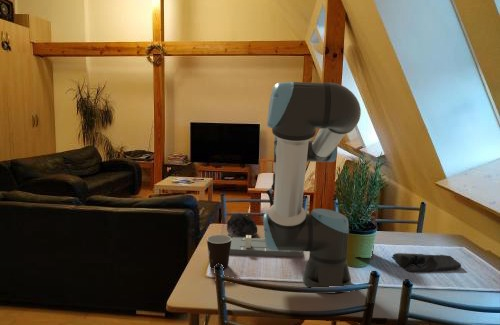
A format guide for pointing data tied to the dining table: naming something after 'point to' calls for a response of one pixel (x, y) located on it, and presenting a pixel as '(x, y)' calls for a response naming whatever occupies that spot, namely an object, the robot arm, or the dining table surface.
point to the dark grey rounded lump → (241, 226)
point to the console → (258, 248)
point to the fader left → (248, 241)
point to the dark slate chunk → (425, 262)
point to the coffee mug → (219, 250)
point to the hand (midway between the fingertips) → (280, 230)
